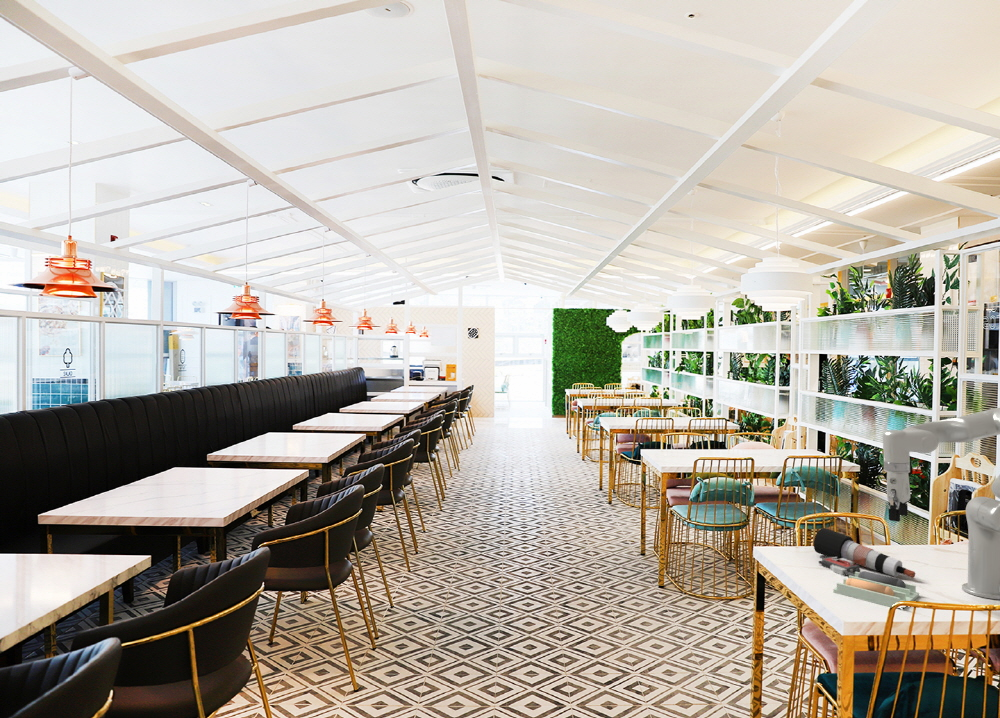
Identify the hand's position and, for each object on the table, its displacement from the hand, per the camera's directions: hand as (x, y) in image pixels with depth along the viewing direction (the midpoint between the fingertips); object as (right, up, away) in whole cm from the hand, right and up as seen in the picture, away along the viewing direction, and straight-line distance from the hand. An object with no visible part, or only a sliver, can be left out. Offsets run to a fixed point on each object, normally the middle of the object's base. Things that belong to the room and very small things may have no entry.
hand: (898, 518), depth 217 cm
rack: (-11, -24, -6) cm, 27 cm away
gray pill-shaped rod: (-7, -21, -2) cm, 22 cm away
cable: (+1, -24, +22) cm, 33 cm away
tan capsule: (-15, -21, -9) cm, 27 cm away
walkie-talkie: (-9, -24, +16) cm, 30 cm away
